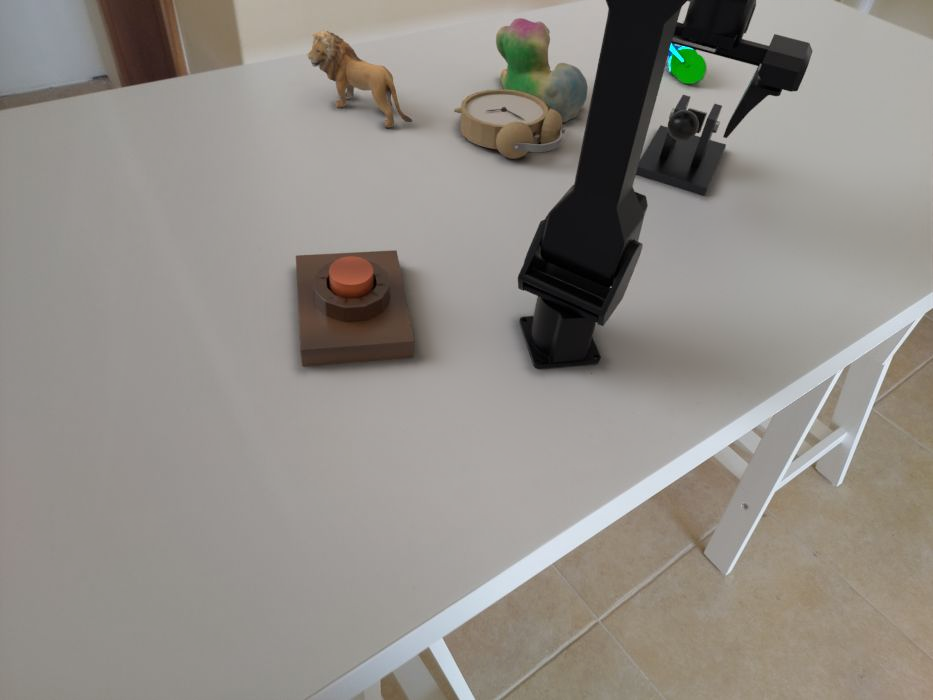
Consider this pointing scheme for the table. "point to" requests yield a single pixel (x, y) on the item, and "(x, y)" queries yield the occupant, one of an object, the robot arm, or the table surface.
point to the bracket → (684, 155)
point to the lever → (686, 124)
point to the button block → (352, 313)
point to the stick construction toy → (686, 64)
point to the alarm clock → (510, 122)
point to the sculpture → (539, 68)
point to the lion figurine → (354, 73)
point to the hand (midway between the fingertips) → (682, 123)
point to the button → (351, 277)
